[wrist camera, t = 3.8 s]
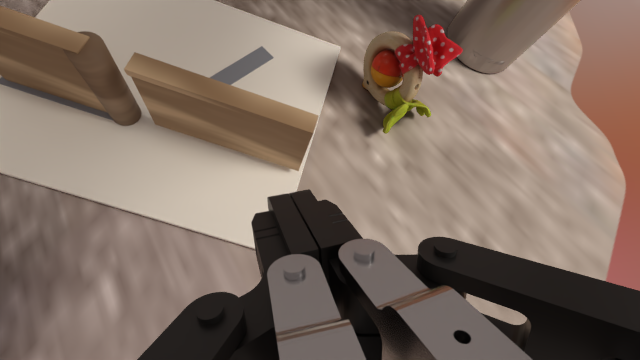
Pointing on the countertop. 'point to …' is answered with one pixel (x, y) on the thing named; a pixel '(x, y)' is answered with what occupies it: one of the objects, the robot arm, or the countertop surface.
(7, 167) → the card
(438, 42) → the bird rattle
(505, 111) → the countertop surface
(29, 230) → the countertop surface
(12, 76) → the fixed fence section
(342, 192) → the countertop surface
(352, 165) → the countertop surface
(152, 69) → the fence panel
